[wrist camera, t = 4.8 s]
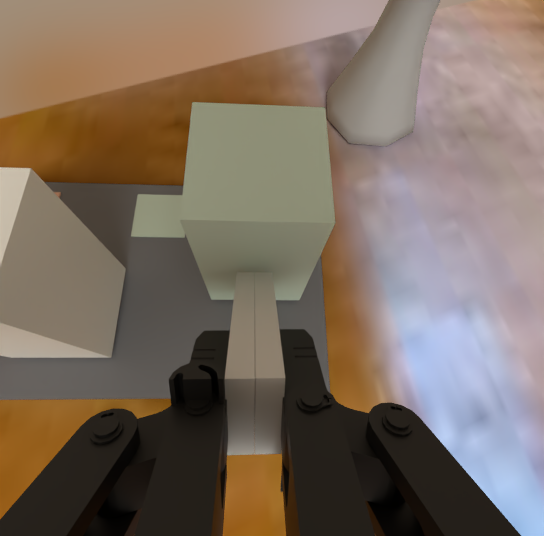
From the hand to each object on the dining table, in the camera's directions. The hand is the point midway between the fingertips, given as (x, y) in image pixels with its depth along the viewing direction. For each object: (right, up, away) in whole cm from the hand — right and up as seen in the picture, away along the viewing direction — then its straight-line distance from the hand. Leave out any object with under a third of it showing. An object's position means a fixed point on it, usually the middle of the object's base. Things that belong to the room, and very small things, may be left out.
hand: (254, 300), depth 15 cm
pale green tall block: (0, +2, +6) cm, 6 cm away
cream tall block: (-10, -1, +4) cm, 11 cm away
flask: (+9, +14, +13) cm, 21 cm away
